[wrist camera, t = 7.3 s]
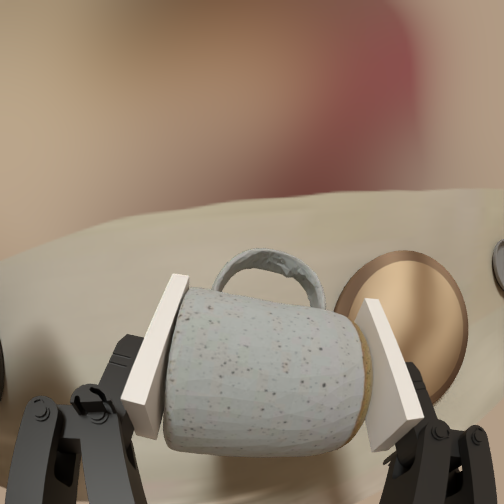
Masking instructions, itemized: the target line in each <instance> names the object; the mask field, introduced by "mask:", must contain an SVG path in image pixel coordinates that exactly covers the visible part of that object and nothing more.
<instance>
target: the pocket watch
mask: <svg viewBox="0 0 504 504" xmlns="http://www.w3.org/2000/svg"><path fill="white" fill-rule="evenodd" d="M493 266H494V271H495V275H496V278H497V280H498V283H499V285H500V286H501V287H502V289H503V290H504V239H503V240H501V241H499V242H498V243H497V245H496V246H495V249H494V253H493Z"/></svg>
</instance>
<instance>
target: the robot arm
mask: <svg viewBox="0 0 504 504" xmlns="http://www.w3.org/2000/svg"><path fill="white" fill-rule="evenodd" d="M188 290H189V276H187V275H181V274H174V273H173V274H172V276H171V278H170V280H169V283H168V285H167V287H166V289H165V291H164V294H163V296H162V298H161V300H160V303H159V305H158V307H157V309H156V312H155V314H154V316H153V319H152V321H151V323H150V326H149V328H148V330H147V333H146V335H145V338H143V337H138V336H134V335H129V334H127V335H126V336H124V337H123V338H122V339H121V340H120V341H119V342H118V343H117V345H116V347H115V350H114V352H113V355H112V356H111V358H110V360H109V363H108V365H107V367H106V369H105V371H104V373H103V376H102V378H101V380H100V382H99V385H96V384H86V385H82V386H80V387H79V388H77V389H76V390H75V391H74V393H73V394H72V396H71V401H70V403H71V404H72V405H57V404H55V402H54V401H53V400H52V399H51V398H48V397H46V396H37V397H34V398H33V399H31V400H30V401H29V402H28V404H27V406H26V408H25V411H24V414H23V418H22V421H21V425H20V428H19V432H18V436H17V440H16V444H15V448H14V453H13V457H12V462H11V467H10V472H9V478H8V484H7V492H6V498H5V504H76V498H77V487H78V477H79V469H80V461H81V454H82V461H83V469H84V476H85V482H86V488H87V494H88V499H89V504H147V501H146V497H145V494H144V490H143V486H142V482H141V478H140V474H139V470H138V466H137V462H136V457H135V452H134V447H133V443H132V441H131V438H132V435H133V431H135V433H136V435H138V436H142V437H146V438H150V439H154V440H157V436H158V432H159V428H160V424H161V420H162V416H163V412H164V400H165V389H166V377H167V368H168V362H169V353H170V349H171V344H172V338H173V334H174V330H175V326H176V321H177V317H178V314H179V310H180V307H181V304H182V301H183V299H184V297H185V294H186V293H187V291H188ZM354 322H355V323H356V324H357V325H358V326H359V328H360V329H361V331H362V333H363V335H364V337H365V338H366V340H367V343H368V346H369V349H370V354H371V359H372V368H373V386H372V396H371V401H370V405H369V408H368V412H367V415H366V418H365V421H366V426H367V431H368V436H369V441H370V447H371V452H379V451H386V450H389V449H390V448H391V447H392V446H393V445H395V446H396V451H395V452H394V453H392V454H391V455H390V456H389V457H387V458H386V459H385V460H384V462H383V465H385V464H387V463H388V462H389V461H391V462H390V463H389V464H388V466H389V470H388V474H387V478H386V482H385V485H384V489H383V493H382V496H381V499H380V503H379V504H497V494H496V485H495V478H494V470H493V464H492V459H491V453H490V448H489V442H488V438H487V434H486V432H485V431H484V429H483V428H482V427H480V426H478V425H473V426H470V427H469V428H468V429H467V430H466V431H459V430H452V429H450V428H449V426H448V425H447V424H446V423H445V422H444V421H442V420H440V419H438V418H437V416H436V413H435V410H434V408H433V405H432V402H431V399H430V397H429V394H428V391H427V390H426V386H425V383H424V382H423V378H422V376H421V373H420V371H419V369H418V368H417V367H416V366H415V364H414V363H413V362H405V361H404V359H403V356H402V354H401V351H400V348H399V346H398V344H397V341H396V339H395V336H394V334H393V331H392V329H391V327H390V324H389V322H388V320H387V317H386V315H385V313H384V310H383V308H382V306H381V304H380V301H379V299H370V298H364V301H363V303H362V305H361V308H360V310H359V312H358V314H357V317H356V319H355V321H354ZM3 380H4V371H3V358H2V351H1V345H0V400H1V397H2V391H3ZM461 465H462V471H461V472H460V471H459V469H458V467H460V466H461Z"/></svg>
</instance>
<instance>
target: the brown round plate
mask: <svg viewBox="0 0 504 504" xmlns="http://www.w3.org/2000/svg"><path fill="white" fill-rule="evenodd" d="M364 298H370V299H379V301H380V304H381V306H382V308H383V310H384V313H385V315H386V317H387V320H388V322H389V324H390V327H391V329H392V331H393V334H394V336H395V339H396V341H397V344H398V346H399V348H400V351H401V354H402V356H403V359H404V361H405V362H413V363H414V364H415V366H416V367H417V368H418V369H419V371H420V373H421V376H422V378H423V382H424V383H425V386H426V390H427V391H428V394H429V397H430V399H431V402H432V404H433V403H434V402H436V401H437V400H438V399H439V398H440V397H441V396H442V395H443V394H444V393H445V392H446V391H447V389H448V388H449V387H450V385H451V384H452V383H453V381H454V379H455V378H456V376H457V374H458V372H459V370H460V367H461V365H462V362H463V359H464V356H465V352H466V347H467V341H468V317H467V311H466V306H465V302H464V299H463V296H462V294H461V291H460V289H459V287H458V285H457V284H456V282H455V280H454V279H453V277H452V276H451V275H450V273H449V272H448V271H447V270H446V269H445V268H444V267H443V266H442V265H441V264H440V263H438V262H437V261H436V260H434V259H432V258H431V257H429V256H427V255H424V254H422V253H418V252H414V251H406V250H404V251H394V252H390V253H386V254H384V255H381V256H379V257H377V258H376V259H374V260H372V261H370V262H369V263H367V264H366V265H364V266H363V267H362V268H361V269H359V270H358V271H357V272H356V273H355V274H354V275H353V276H352V277H351V279H350V280H349V281H348V283H347V284H346V286H345V287H344V289H343V291H342V292H341V294H340V296H339V298H338V301H337V303H336V306H335V309H334V312H335V313H338V314H341V315H343V316H346V317H348V318H350V319H351V320H352V321H355V319H356V317H357V314H358V312H359V310H360V308H361V305H362V303H363V301H364Z"/></svg>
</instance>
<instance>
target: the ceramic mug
mask: <svg viewBox="0 0 504 504" xmlns="http://www.w3.org/2000/svg"><path fill="white" fill-rule="evenodd" d="M251 268H258V269H263V270H267V271H271V272H275V273H279V274H282V275H284V276H285V277H293V278H294V279H296V280H297V281H298V282H299V283H300V284H301V286H302V287H303V288H304V290H305V291H306V293H307V295H308V299H309V301H310V306H311V307H307V306H299V305H288V304H282V303H276V302H270V301H266V300H261V299H256V298H250V297H245V296H239V295H233V294H228V293H223V292H222V290H223V288H224V286H225V285H226V283H227V282H228V281H229V279H230V278H231V277H232V276H233V275H234V274H236V273H237V272H239V271H241V270H244V269H251ZM372 386H373V368H372V359H371V354H370V349H369V346H368V343H367V340H366V338H365V337H364V335H363V333H362V331H361V329H360V328H359V326H358V325H357V324H356V323H355V322H354V321H352V320H351V319H350V318H348V317H346V316H343V315H341V314H338V313H335V312H332V311H329V310H326V303H325V295H324V290H323V287H322V285H321V283H320V281H319V278H318V276H317V275H316V273H315V272H314V271H313V270H312V269H311V268H310V267H309V266H308V265H307V264H305V263H304V262H303V261H302V260H300V259H299V258H297V257H295V256H293V255H290V254H287V253H285V252H282V251H278V250H273V249H266V248H256V249H250V250H246V251H244V252H242V253H240V254H238V255H236V256H235V257H233V258H232V259H231V260H230V261H229V262H227V263H226V265H225V266H224V267H223V269H222V270H221V271H220V273H219V274H218V276H217V277H216V280H215V282H214V284H213V286H212V289H211V290H210V289H205V288H193V287H191V288H190V289H189V290H188V291H187V293H186V294H185V297H184V299H183V301H182V304H181V307H180V310H179V314H178V317H177V321H176V326H175V330H174V334H173V338H172V344H171V349H170V353H169V362H168V368H167V377H166V389H165V400H164V416H163V433H164V438H165V441H166V444H167V446H168V447H169V448H170V449H172V450H175V451H179V452H188V453H197V454H210V455H218V456H234V457H300V456H312V455H318V454H322V453H326V452H330V451H333V450H337V449H339V448H341V447H343V446H344V445H346V444H347V443H349V442H350V441H351V440H352V438H353V437H354V436H355V435H356V433H357V432H358V430H359V429H360V427H361V426H362V424H363V422H364V420H365V418H366V415H367V412H368V408H369V405H370V401H371V396H372Z"/></svg>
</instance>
